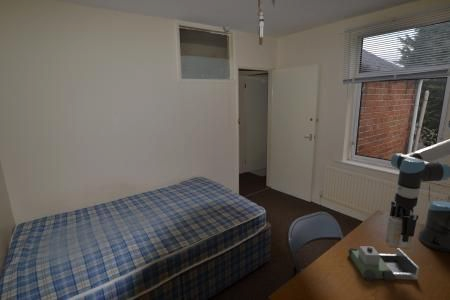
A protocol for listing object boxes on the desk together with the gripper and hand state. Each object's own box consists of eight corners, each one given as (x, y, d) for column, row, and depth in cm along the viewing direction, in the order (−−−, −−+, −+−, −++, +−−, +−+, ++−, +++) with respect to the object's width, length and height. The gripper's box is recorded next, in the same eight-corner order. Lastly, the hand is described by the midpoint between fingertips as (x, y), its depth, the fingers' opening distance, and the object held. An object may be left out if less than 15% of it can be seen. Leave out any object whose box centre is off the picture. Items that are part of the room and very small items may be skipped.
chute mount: (397, 258, 112) (399, 248, 111) (417, 279, 99) (419, 268, 98) (373, 258, 113) (375, 247, 111) (390, 278, 100) (392, 267, 99)
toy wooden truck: (373, 255, 114) (376, 238, 112) (394, 281, 99) (398, 261, 96) (347, 255, 115) (350, 237, 113) (364, 280, 100) (367, 260, 97)
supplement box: (404, 242, 105) (409, 217, 102) (410, 249, 100) (416, 223, 97) (384, 240, 106) (388, 215, 103) (389, 247, 102) (394, 221, 99)
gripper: (384, 186, 106) (377, 230, 112) (412, 204, 89) (402, 256, 94) (401, 186, 106) (393, 231, 111) (433, 205, 88) (421, 257, 94)
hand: (397, 242), depth 103 cm, fingers closed on supplement box, 5 cm apart
